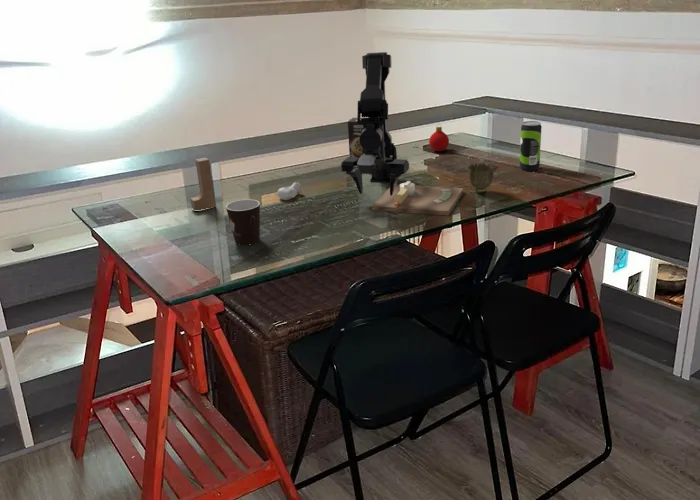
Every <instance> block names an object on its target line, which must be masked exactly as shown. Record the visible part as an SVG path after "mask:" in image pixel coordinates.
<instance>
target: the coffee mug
mask: <svg viewBox="0 0 700 500" xmlns="http://www.w3.org/2000/svg"><path fill="white" fill-rule="evenodd" d="M225 209H226V212H227V217H228V219H229V224H230V228H231V232H232V235H233V239H234V242H235V244H236V243H237V244H240V245H249V244H253V245H256V244H258V243H259V242H260V241H261V219H260V218H261V203H260V201H259V200H256V199H249V198H248V199H244V198H243V199H238V200H234V201H231V202H229V203H227V204H226V206H225ZM255 243H256V244H255ZM237 244H236V245H237ZM240 245H239V246H240ZM249 246H250V245H249Z"/></svg>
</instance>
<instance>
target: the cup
mask: <svg viewBox="0 0 700 500" xmlns="http://www.w3.org/2000/svg"><path fill="white" fill-rule="evenodd" d="M494 169H495V167H494V165H493V164H489V163H486V164H485V163H484V162H483V163H482V162H479V164H478V162H477V163H475V164H473V163H471V164H470V165H468V177H469V183H470V185H471V186H472V187H473V188H474V192H475V194H486V193H487V191H488V188H489V187H490V186H491V184H492V182H493V178H494V171H495V170H494Z"/></svg>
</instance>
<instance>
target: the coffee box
mask: <svg viewBox="0 0 700 500" xmlns="http://www.w3.org/2000/svg"><path fill="white" fill-rule="evenodd" d="M361 118H362V117H360V120H361ZM362 130H363V124H357V117H352V118H351V119H348V121H347V133H348V153H349V155H348V157H358V158H360V156H361V155H362V146H361V145H360V141H359V139H360V135H361V133H362Z"/></svg>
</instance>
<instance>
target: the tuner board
mask: <svg viewBox="0 0 700 500" xmlns="http://www.w3.org/2000/svg"><path fill="white" fill-rule="evenodd" d="M399 191H400V184H396V186H395V189H394V192H393V195H392V196H390V187H388V189H387V190H386V191H385V192H383V194H381V196H380V197H379V198H378V199H377V200H376V201H375V202H374V203H373V204H372V206H371V210H372V211H378V212H379V211H382V212H395V213H408V214H409V213H410V214H421V215H422V214H424V215H436V216H437V215H439V216H449V215H450V213H451V212H452V211H453V209H454V208H455V206H456V204H457V203H458V202H459V200H460V198H461V197H462V195H463V194H462V193H464V188H461V187H446V186H445V187H444V186H428V185H425V186H424V185H415V194H414V195H410V196H407V197H406V199H405V200H404V201H403V202H402V203H401V204H398V205H397V206H394V204H395V201H394V197H395V196H396V195H397V194H398V193H399ZM461 194H462V195H461ZM460 196H461V197H460ZM458 199H459V200H458ZM456 202H457V203H456Z"/></svg>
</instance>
